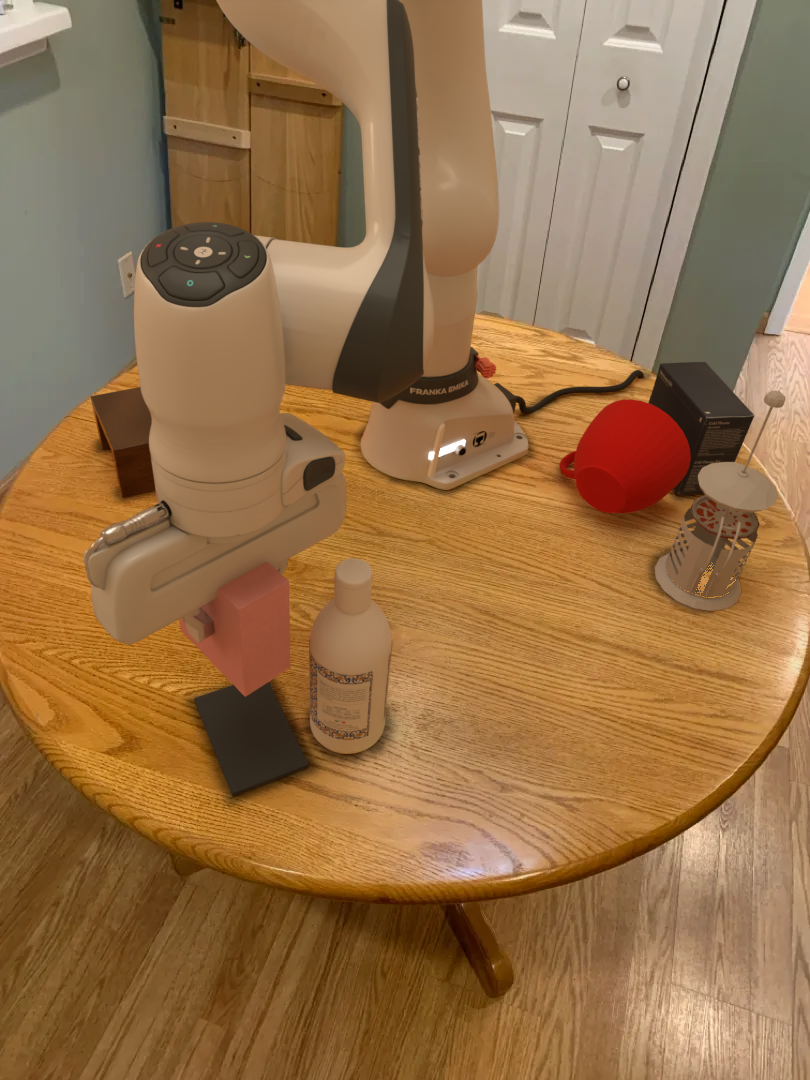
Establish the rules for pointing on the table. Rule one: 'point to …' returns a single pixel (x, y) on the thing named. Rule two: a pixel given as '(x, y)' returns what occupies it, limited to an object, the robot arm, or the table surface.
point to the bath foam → (349, 664)
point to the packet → (249, 629)
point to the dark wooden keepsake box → (126, 438)
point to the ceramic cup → (628, 457)
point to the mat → (250, 737)
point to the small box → (701, 416)
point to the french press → (718, 531)
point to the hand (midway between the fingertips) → (233, 615)
